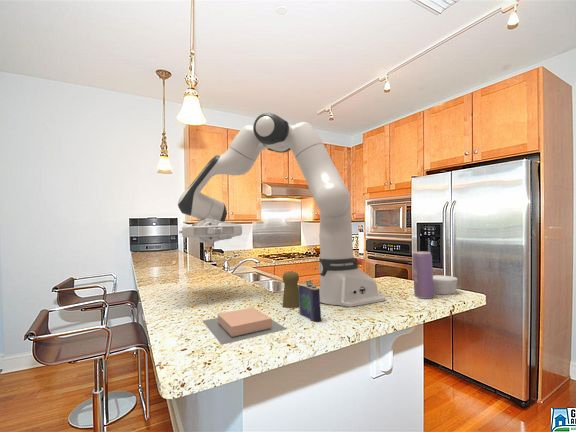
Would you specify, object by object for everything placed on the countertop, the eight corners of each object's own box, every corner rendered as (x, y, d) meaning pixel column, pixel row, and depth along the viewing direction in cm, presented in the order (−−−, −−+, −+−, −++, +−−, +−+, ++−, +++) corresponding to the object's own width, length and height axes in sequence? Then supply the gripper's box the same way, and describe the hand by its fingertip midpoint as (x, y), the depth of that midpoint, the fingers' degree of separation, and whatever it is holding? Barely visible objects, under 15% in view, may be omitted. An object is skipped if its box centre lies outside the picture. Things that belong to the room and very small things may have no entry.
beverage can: (437, 298, 91) (434, 252, 92) (419, 299, 91) (416, 253, 92) (428, 294, 97) (426, 251, 98) (411, 295, 97) (409, 251, 98)
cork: (299, 310, 84) (298, 273, 85) (280, 309, 86) (279, 273, 86) (302, 304, 90) (301, 270, 91) (284, 304, 91) (283, 270, 92)
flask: (297, 315, 79) (296, 277, 80) (306, 314, 81) (305, 276, 81) (315, 325, 71) (313, 282, 71) (324, 323, 72) (323, 281, 73)
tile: (253, 307, 78) (271, 318, 68) (253, 316, 78) (272, 328, 68) (217, 313, 74) (231, 326, 63) (217, 323, 73) (231, 338, 63)
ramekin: (434, 287, 108) (433, 273, 108) (465, 292, 99) (464, 277, 99) (416, 291, 102) (416, 277, 102) (448, 297, 93) (447, 281, 93)
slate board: (256, 312, 84) (256, 310, 84) (287, 331, 67) (287, 328, 67) (202, 322, 76) (202, 320, 76) (221, 347, 60) (221, 344, 60)
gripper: (177, 223, 98) (184, 221, 86) (234, 221, 108) (247, 220, 96) (178, 241, 98) (184, 242, 86) (234, 238, 108) (247, 238, 95)
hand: (218, 230), depth 91 cm, fingers closed
